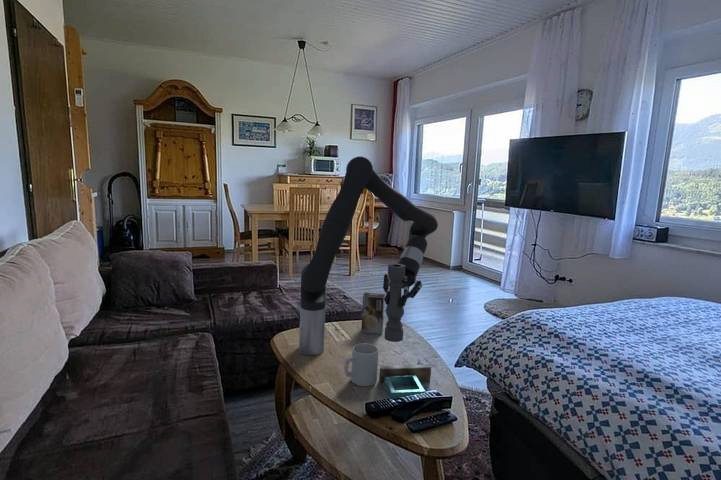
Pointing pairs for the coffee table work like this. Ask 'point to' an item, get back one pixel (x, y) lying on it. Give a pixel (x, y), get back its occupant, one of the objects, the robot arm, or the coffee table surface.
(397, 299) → the candle holder
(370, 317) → the coffee box
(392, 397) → the frame
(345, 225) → the robot arm
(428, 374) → the door edge rail
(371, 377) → the mug
